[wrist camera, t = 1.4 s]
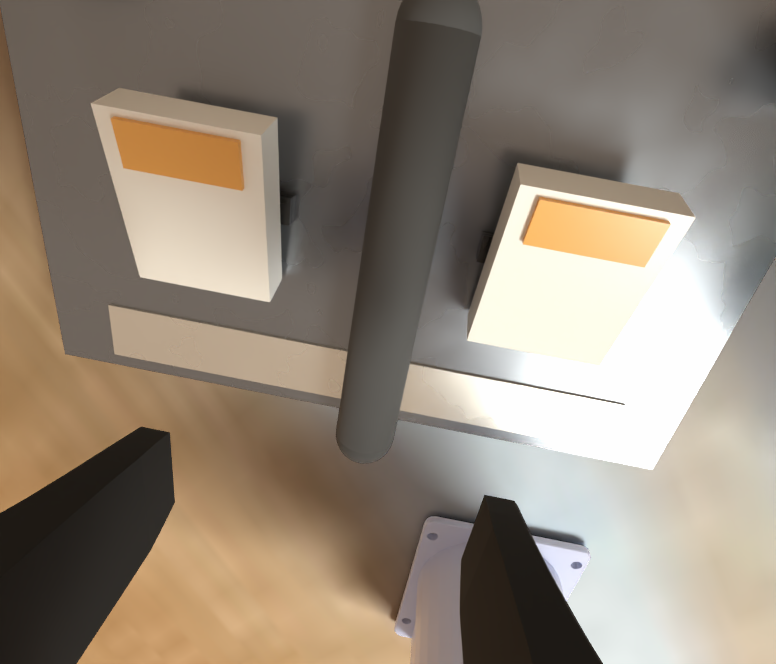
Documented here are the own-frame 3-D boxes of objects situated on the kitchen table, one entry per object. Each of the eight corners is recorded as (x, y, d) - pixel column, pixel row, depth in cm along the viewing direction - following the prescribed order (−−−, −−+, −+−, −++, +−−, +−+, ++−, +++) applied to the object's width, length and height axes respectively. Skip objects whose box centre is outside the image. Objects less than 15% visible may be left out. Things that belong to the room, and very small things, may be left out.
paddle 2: (592, 338, 15) (600, 370, 14) (467, 314, 15) (466, 343, 14) (679, 193, 12) (697, 221, 11) (517, 162, 12) (520, 187, 11)
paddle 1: (282, 278, 15) (268, 305, 14) (159, 254, 15) (137, 280, 14) (277, 117, 12) (258, 137, 11) (119, 87, 12) (86, 105, 11)
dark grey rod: (391, 442, 18) (385, 481, 16) (338, 431, 18) (327, 469, 16) (488, -7, 11) (497, -25, 10) (406, -22, 11) (399, -43, 10)
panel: (633, 427, 20) (704, 554, 14) (102, 323, 20) (-22, 410, 15) (846, 20, 13) (1129, -25, 8) (40, -127, 13) (-231, -269, 8)
